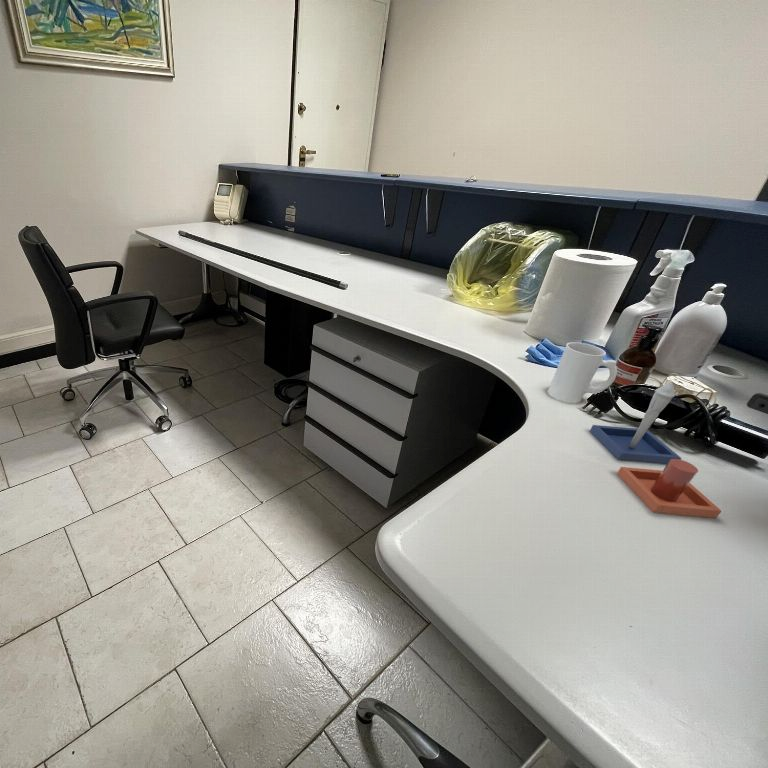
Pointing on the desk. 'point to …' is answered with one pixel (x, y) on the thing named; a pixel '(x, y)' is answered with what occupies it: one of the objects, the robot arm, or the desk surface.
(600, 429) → the blue tray
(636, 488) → the terracotta tray
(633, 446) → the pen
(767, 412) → the robot arm
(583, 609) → the desk surface
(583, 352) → the mug
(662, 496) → the red peg
